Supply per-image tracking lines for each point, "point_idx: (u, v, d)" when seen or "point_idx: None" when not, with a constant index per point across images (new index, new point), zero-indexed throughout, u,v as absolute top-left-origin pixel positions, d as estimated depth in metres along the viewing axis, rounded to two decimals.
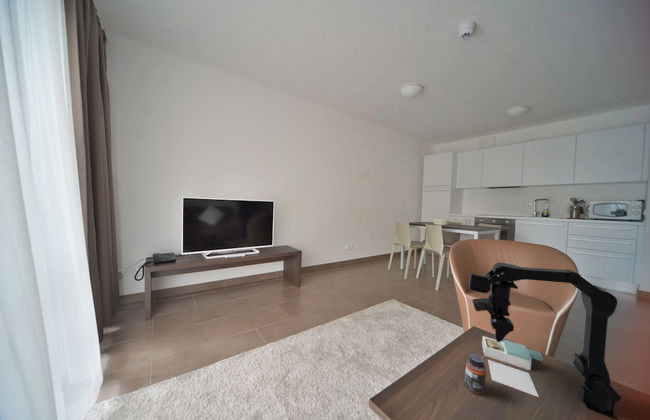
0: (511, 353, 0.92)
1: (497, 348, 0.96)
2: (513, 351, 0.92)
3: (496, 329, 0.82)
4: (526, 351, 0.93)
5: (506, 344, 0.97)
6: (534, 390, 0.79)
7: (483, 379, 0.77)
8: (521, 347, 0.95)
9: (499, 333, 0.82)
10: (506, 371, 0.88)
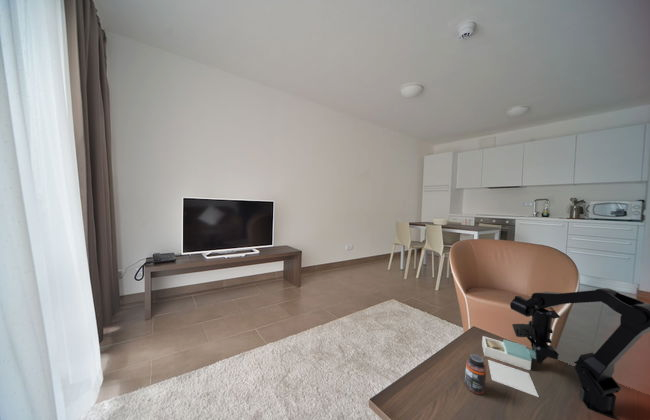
0: (511, 353, 0.92)
1: (497, 348, 0.96)
2: (513, 351, 0.92)
3: None
4: (526, 351, 0.93)
5: (506, 344, 0.97)
6: (534, 390, 0.79)
7: (483, 379, 0.77)
8: (521, 347, 0.95)
9: (540, 355, 0.88)
10: (506, 371, 0.88)
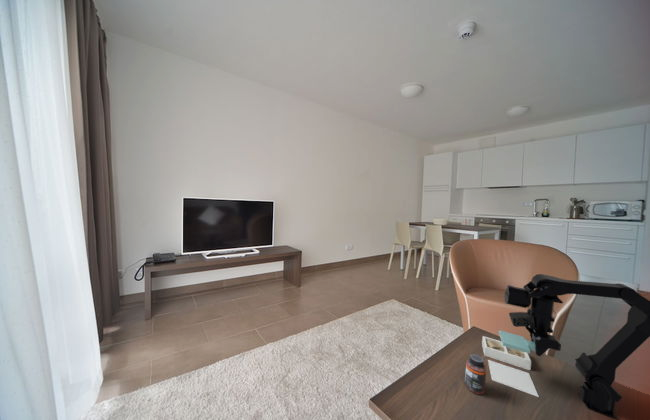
0: (507, 345, 0.82)
1: (497, 348, 0.96)
2: (509, 342, 0.82)
3: None
4: (524, 342, 0.83)
5: (502, 335, 0.87)
6: (534, 390, 0.79)
7: (483, 379, 0.77)
8: (519, 338, 0.85)
9: (540, 347, 0.78)
10: (506, 371, 0.88)
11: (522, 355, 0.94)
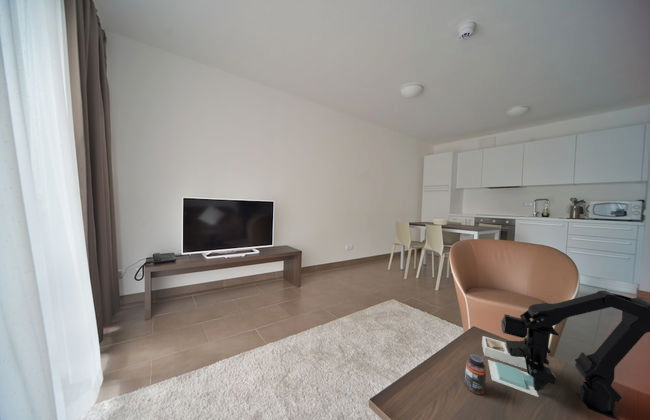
0: (503, 379, 0.83)
1: (497, 348, 0.96)
2: (506, 376, 0.83)
3: (535, 378, 0.77)
4: (520, 376, 0.84)
5: (498, 368, 0.88)
6: (534, 390, 0.79)
7: (483, 379, 0.77)
8: (515, 371, 0.86)
9: (538, 382, 0.77)
10: None
11: None
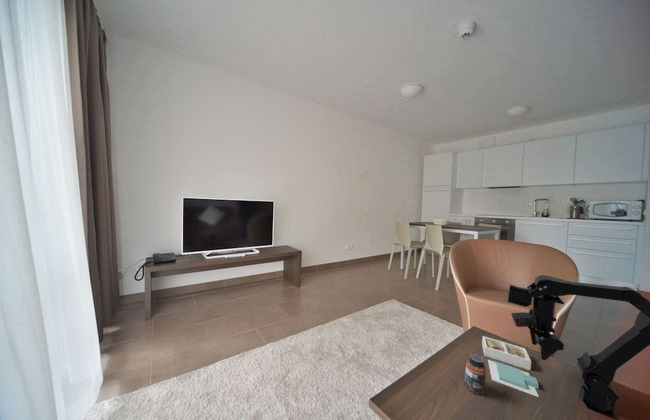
0: (503, 379, 0.83)
1: (497, 348, 0.96)
2: (506, 376, 0.83)
3: (542, 347, 0.77)
4: (520, 376, 0.84)
5: (498, 368, 0.88)
6: (534, 390, 0.79)
7: (483, 379, 0.77)
8: (515, 371, 0.86)
9: (545, 351, 0.78)
10: None
11: (522, 355, 0.94)
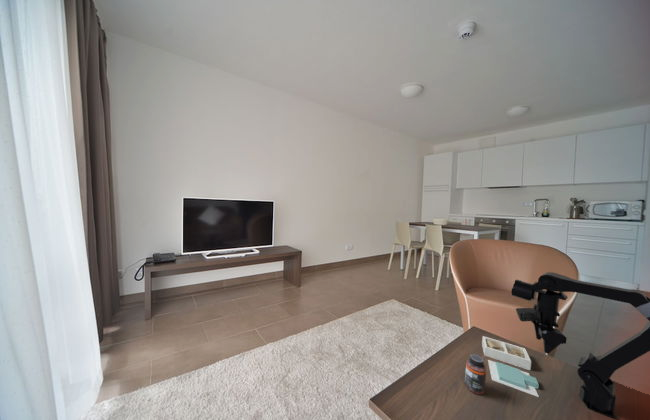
0: (503, 379, 0.83)
1: (497, 348, 0.96)
2: (506, 376, 0.83)
3: (545, 340, 0.80)
4: (520, 376, 0.84)
5: (498, 368, 0.88)
6: (534, 390, 0.79)
7: (483, 379, 0.77)
8: (515, 371, 0.86)
9: (548, 345, 0.80)
10: None
11: (522, 355, 0.94)
